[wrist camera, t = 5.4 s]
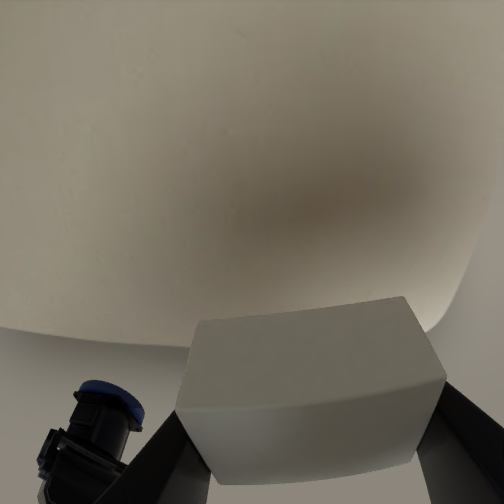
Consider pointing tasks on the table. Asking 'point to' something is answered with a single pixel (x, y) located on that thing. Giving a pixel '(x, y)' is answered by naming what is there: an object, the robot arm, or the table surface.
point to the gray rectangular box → (309, 392)
